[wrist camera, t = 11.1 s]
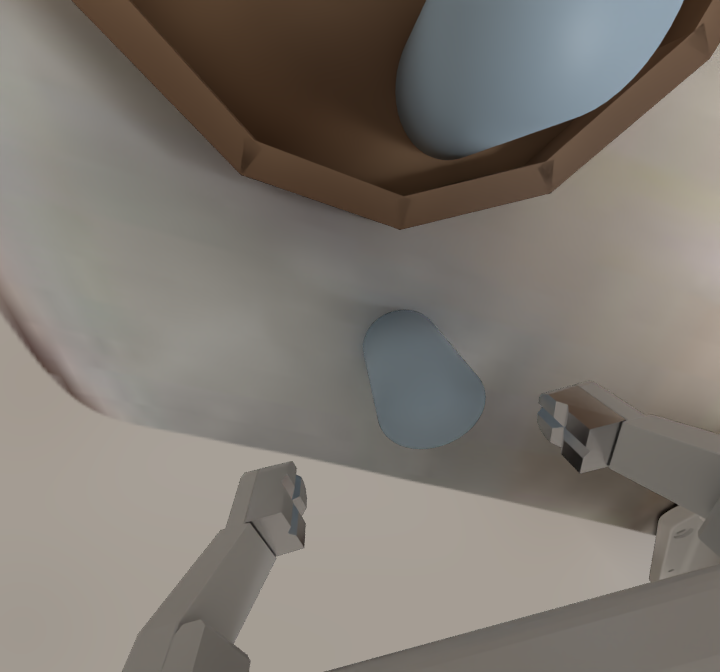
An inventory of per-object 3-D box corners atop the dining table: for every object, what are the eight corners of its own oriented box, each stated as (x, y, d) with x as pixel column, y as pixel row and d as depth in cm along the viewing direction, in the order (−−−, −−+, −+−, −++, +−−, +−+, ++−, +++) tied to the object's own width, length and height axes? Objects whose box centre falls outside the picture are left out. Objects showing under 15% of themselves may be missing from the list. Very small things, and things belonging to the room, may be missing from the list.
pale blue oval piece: (513, 145, 10) (668, 95, 5) (404, 172, 10) (467, 145, 5) (518, -16, 8) (759, -300, 3) (385, 17, 8) (454, -219, 4)
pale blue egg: (440, 367, 15) (485, 435, 11) (371, 384, 15) (388, 458, 11) (433, 301, 13) (485, 350, 9) (355, 320, 13) (367, 378, 9)
